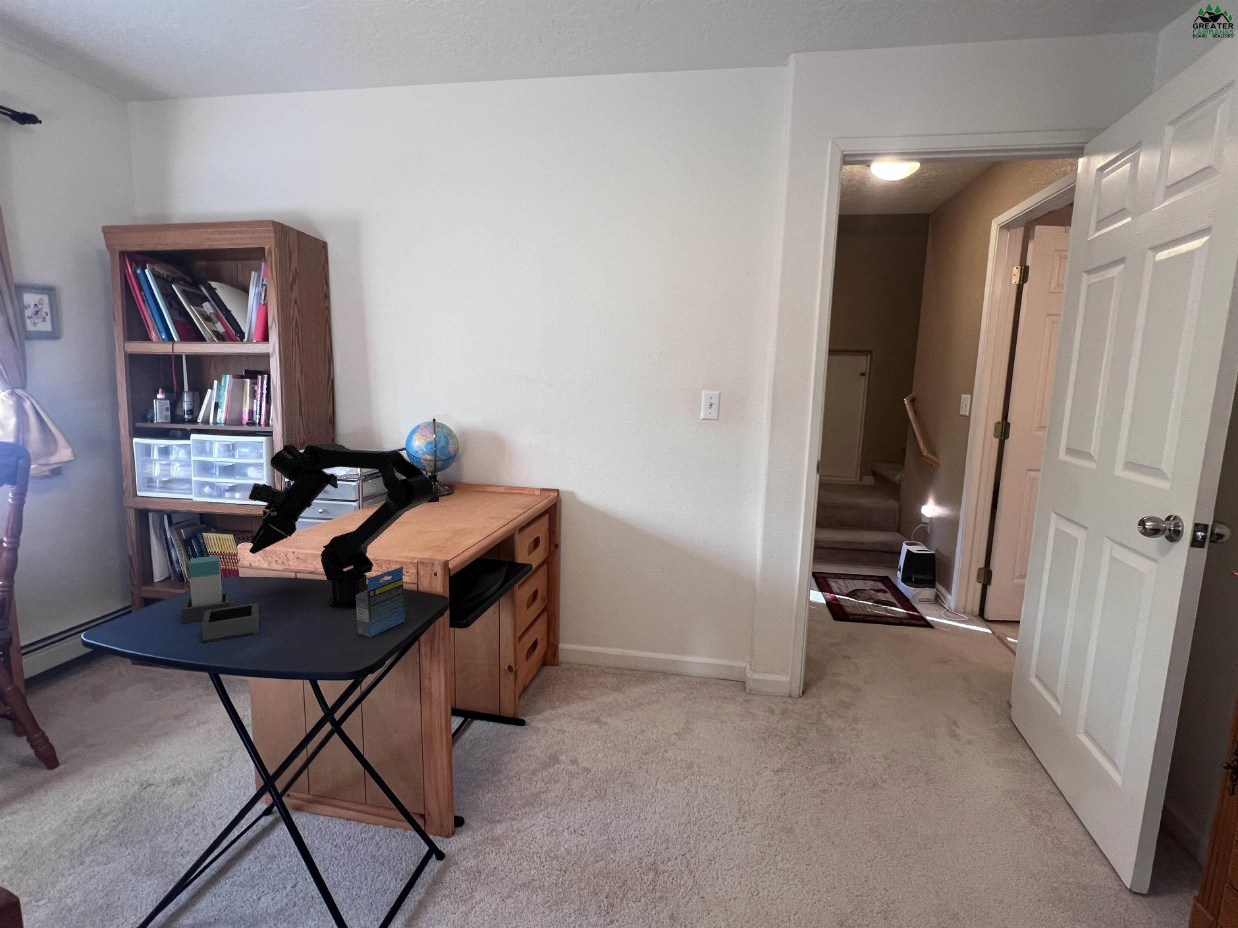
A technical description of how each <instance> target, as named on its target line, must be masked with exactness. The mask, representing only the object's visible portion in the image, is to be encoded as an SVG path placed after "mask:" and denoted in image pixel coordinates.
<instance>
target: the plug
mask: <svg viewBox="0 0 1238 928" xmlns="http://www.w3.org/2000/svg"><path fill="white" fill-rule="evenodd" d="M188 574H189V588H190V597H191V600H192V607H195V606H202V605H209V604H216V603H222V602H223V600H222V593H223V589H222V576H221V563H220V555H210V556H203V557H194V558H193V557H192V558H190V559H189V561H188Z"/></svg>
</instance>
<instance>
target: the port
mask: <svg viewBox="0 0 1238 928" xmlns="http://www.w3.org/2000/svg"><path fill="white" fill-rule="evenodd" d="M259 616H260V615H259V605H258V602H254V603H247V604H240V605H235V606H234V605H232V607H226V608H220V609H213V610H207V611H205V612H204V617H203V621H201V622H202V623H201V636H202V643H203V644H204V643H205V644H206V643H210V642H216V641H217V642H218V641H222V640H227V639H234V638H240V637H246V636H250V635H255V634H259V633H260V632H259V631H260V628H259V627H260V626H259V624H260V623H259V620H260V617H259Z"/></svg>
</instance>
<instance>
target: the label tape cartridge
mask: <svg viewBox="0 0 1238 928" xmlns="http://www.w3.org/2000/svg"><path fill="white" fill-rule="evenodd" d="M403 571H404V566H400V567H397V568H394V569H391V570H388V571H386V572H382V573H379V574H377V575H374V576H371V577H368V578H367V591H364V592H362V593H359V594H357V595H356V608H355V609H356V628H357V633H356V634H358V635H360V636H364V637H366V638H372V637H374V636H377V635H379V634H381V633H383V632H385V631H387V630H389V629H391V628H393V627H396V626H398V625H400V624H403V623H405V621H406V620H405V619H406V618H405V617H406V616H405V598H404V597H405V596H404V595H405V594H404V593H405V592H404V575H403V574H404V572H403ZM385 577H387V578H388V579H385ZM389 577H390V578H389ZM383 579H385V580H383ZM381 580H383V581H381Z"/></svg>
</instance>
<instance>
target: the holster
mask: <svg viewBox="0 0 1238 928" xmlns="http://www.w3.org/2000/svg"><path fill="white" fill-rule="evenodd" d="M222 600H223V602H222V603H216V604H209V605H202V606H195V607H192V600H191V596H190V597H185V599H184V602H183V604H182V608H181V616H182V624H191V623H196V622H202V621H203V617H204V612H205V611H207V610H213V609H220V608H226V607H233V600H232V591H228V592H222Z"/></svg>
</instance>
